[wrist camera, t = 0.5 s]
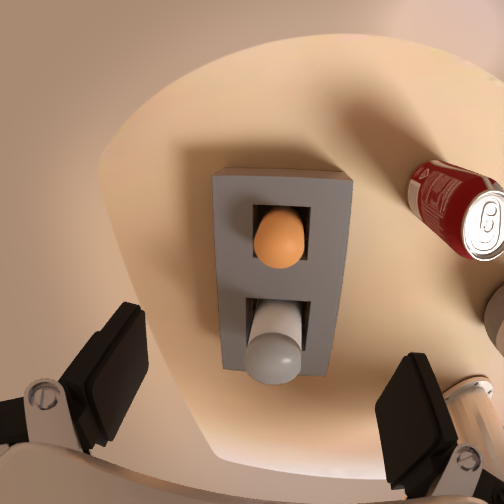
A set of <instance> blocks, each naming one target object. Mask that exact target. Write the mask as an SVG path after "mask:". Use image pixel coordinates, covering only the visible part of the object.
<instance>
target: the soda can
mask: <svg viewBox="0 0 504 504" xmlns="http://www.w3.org/2000/svg"><path fill="white" fill-rule="evenodd" d="M407 200H408V204H409V206H410V209H411V210H412V212H413V213H414V214H415V216H416V217H418V218H419V219H420V220H421V221H422V222H423V223H425V224H426V225H427V226H428V227H429V228H430V229H431V230H432V231H434V232H435V233H436V234H437V235H438V236H439V237H440V238H441V239H442V240H443V241H445V242H446V243H447V244H448V245H449V246H450V247H451V248H452V249H453V250H454V251H455V252H456V253H458V254H459V255H460V256H462V257H465V258H468V259H477V260H480V261H488V260H492V259H494V258H496V257H498V256H499V255H500V254H502V253H503V252H504V190H503V188H502V187H501V186H500V185H499V184H498V183H497V182H496V181H495V180H493V179H491V178H489V177H486V176H483V175H481V174H478V173H475V172H472V171H470V170H467V169H464V168H461V167H458V166H455V165H452V164H449V163H446V162H443V161H439V160H431V161H427V162H424V163H422V164H421V165H420V166H418V167H417V168H416V169H415V170H414V172H413V173H412V175H411V177H410V179H409V182H408V185H407Z"/></svg>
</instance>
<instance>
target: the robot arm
mask: <svg viewBox="0 0 504 504" xmlns="http://www.w3.org/2000/svg"><path fill="white" fill-rule="evenodd" d="M148 366H149V362H148V351H147V338H146V323H145V312H144V311H143V310H141V307H140V306H139V305H136V304H132V303H129V302H123V303H122V304H121V306H120V307H119V308H118V309H117V311H116V312H115V313H114V314H113V316H112V317H111V318H110V320H109V321H108V322H107V323H106V325H105V326H104V327H103V328H102V330H101V331H97V332H95V333H94V334H93V335H92V337H91V338H90V339H89V340H88V342H87V343H86V344H85V346H84V347H83V349H82V350H81V351H80V352H79V354H78V355H77V356H76V357H75V359H74V360H73V361H72V363H71V364H70V366H69V367H68V368H67V369H66V371H65V372H64V374H63V375H62V376H61V378H60V379H59V380H58V382H57V381H55V380H53V379H49V378H44V379H43V378H41V379H38V380H35V381H34V382H32V383H30V384H29V386H28V387H27V388H26V390H25V392H24V397H21V398H16V399H11V400H6V401H1V402H0V504H306V503H290V502H276V501H267V500H258V499H251V498H244V497H238V496H231V495H226V494H220V493H215V492H210V491H205V490H200V489H196V488H191V487H187V486H184V485H180V484H176V483H172V482H168V481H165V480H161V479H158V478H155V477H151V476H148V475H145V474H142V473H138V472H135V471H132V470H129V469H126V468H124V467H121V466H118V465H115V464H112V463H109V462H107V461H104V460H102V459H99V458H96V457H93V455H92V452H91V449H93V447H94V445H95V443H96V444H98V445H101V446H103V447H105V446H106V444H107V442H108V441H113V439H114V438H115V436H116V434H117V431H118V429H119V427H120V425H121V423H122V421H123V419H124V417H125V415H126V413H127V411H128V409H129V407H130V405H131V403H132V401H133V399H134V397H135V395H136V393H137V391H138V389H139V387H140V385H141V383H142V381H143V379H144V377H145V375H146V373H147V371H148ZM492 393H493V385H492V383H491V381H490V380H489V379H488V378H485V377H474V378H470V379H467V380H464V381H462V382H460V383H458V384H456V385H455V386H453V387H451V388H450V389H449V390H447V391H446V392H445V393H444V394H443V395H442V392H441V390H440V387H439V385H438V382H437V380H436V378H435V375H434V373H433V371H432V368H431V366H430V364H429V361H428V359H427V357H426V355H425V354H424V353H414V352H411V353H409V354H408V355H407V356H404V357H403V359H402V361H401V362H400V364H399V366H398V368H397V369H396V371H395V373H394V375H393V376H392V378H391V380H390V381H389V383H388V385H387V386H386V388H385V389H384V391H383V393H382V394H381V396H380V397H379V399H378V400H377V402H376V405H375V413H376V418H377V423H378V429H379V434H380V440H381V446H382V452H383V458H384V465H385V471H386V479H387V482H388V483H390V484H391V490H396V489H405V495H404V496H403V498H402V499H401V500H399V501H387V502H375V503H358V504H504V430H503V427H502V425H501V423H500V421H499V418H498V416H497V414H496V412H495V410H494V407H493V405H492V403H491V401H490V398H491V396H492Z"/></svg>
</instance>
